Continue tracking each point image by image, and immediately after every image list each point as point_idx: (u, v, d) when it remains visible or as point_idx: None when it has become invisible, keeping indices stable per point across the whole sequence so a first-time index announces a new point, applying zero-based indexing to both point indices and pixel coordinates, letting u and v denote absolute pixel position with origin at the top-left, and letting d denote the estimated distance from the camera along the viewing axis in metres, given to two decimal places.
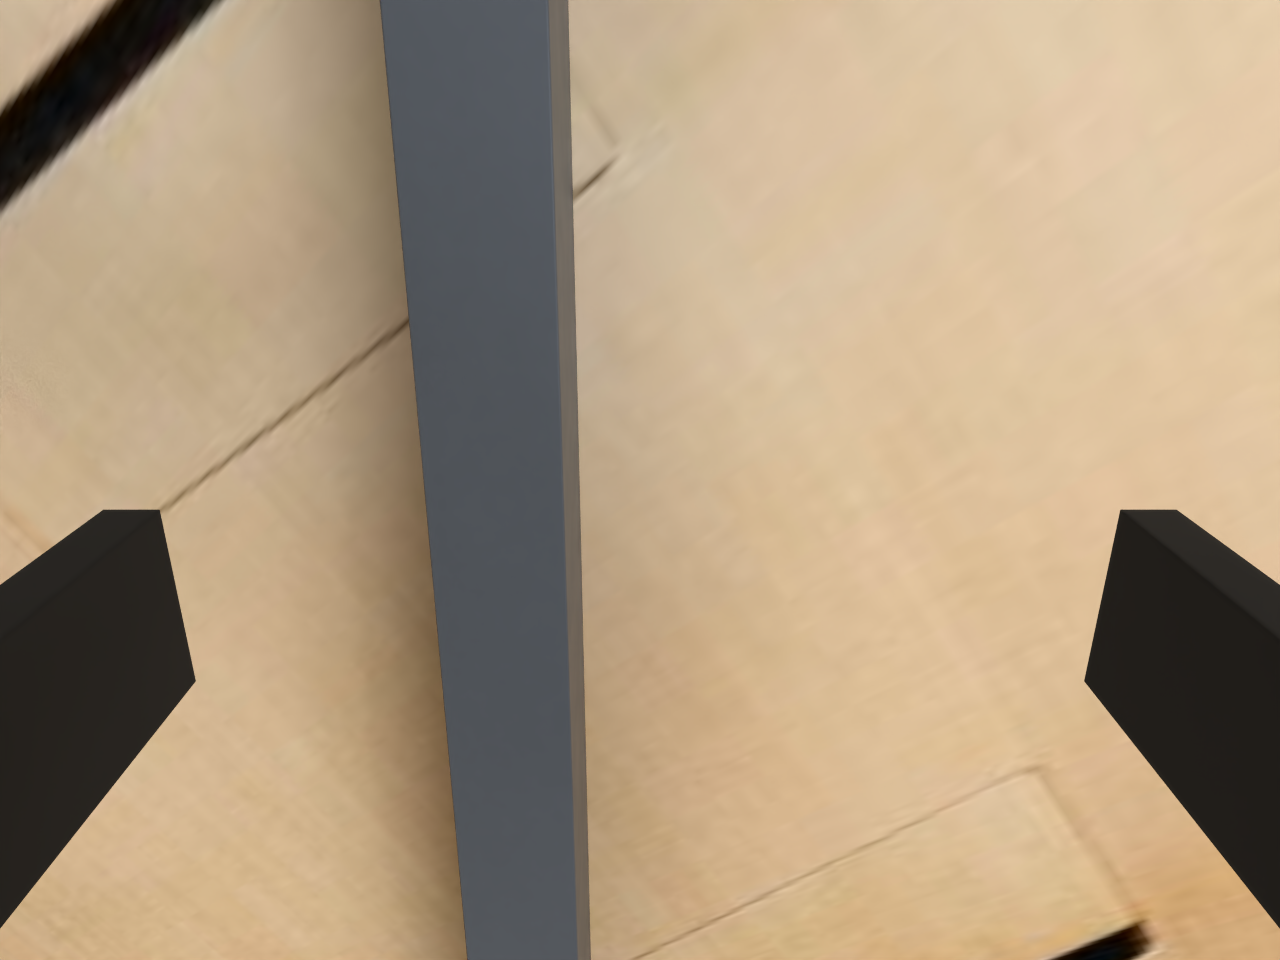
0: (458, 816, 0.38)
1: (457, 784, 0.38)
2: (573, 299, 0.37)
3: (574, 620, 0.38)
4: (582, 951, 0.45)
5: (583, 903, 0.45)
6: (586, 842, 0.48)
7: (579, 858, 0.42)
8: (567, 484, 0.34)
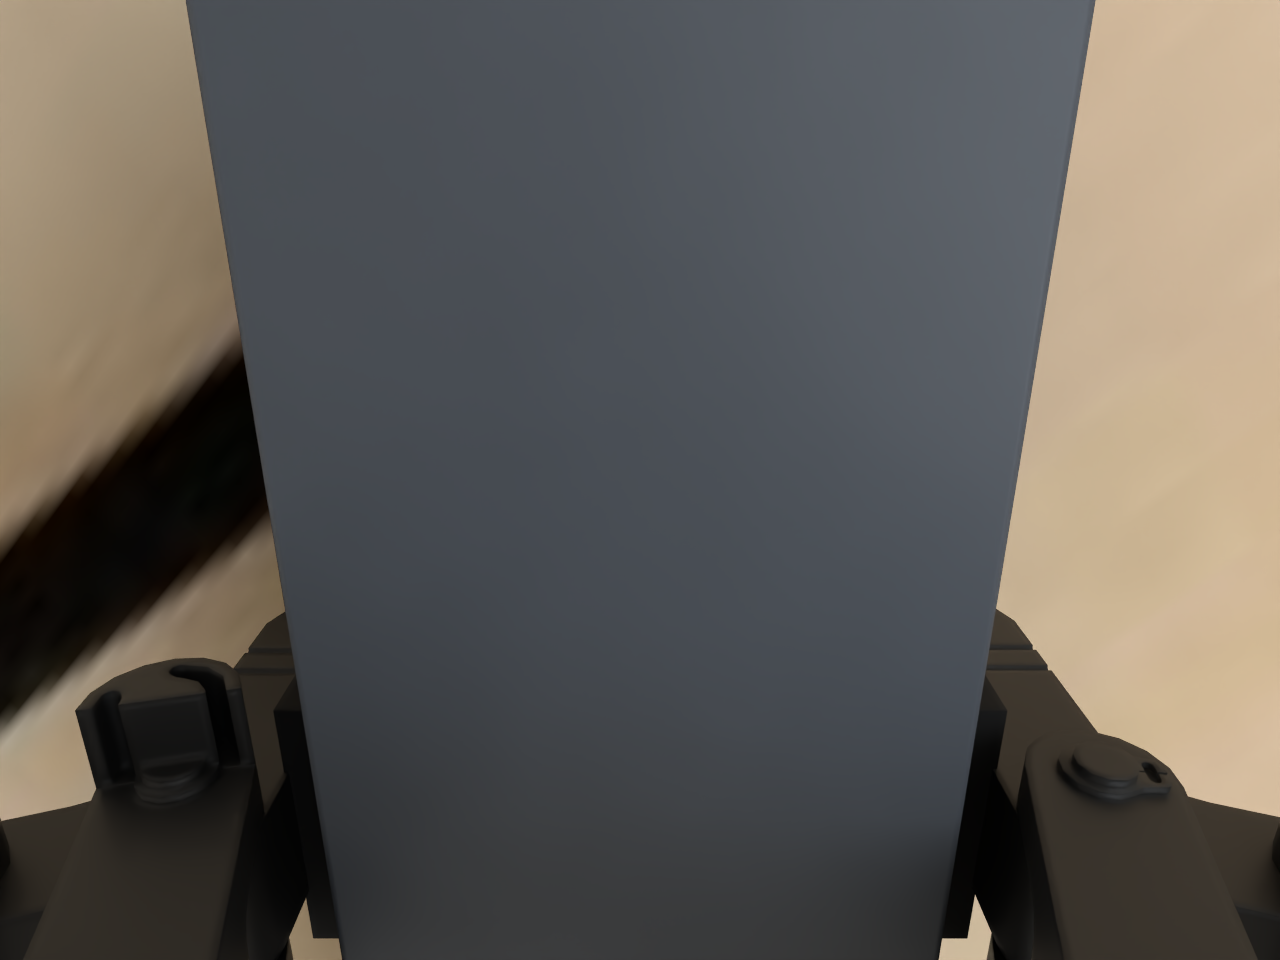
0: None
1: None
2: None
3: None
4: None
5: None
6: None
7: None
8: None
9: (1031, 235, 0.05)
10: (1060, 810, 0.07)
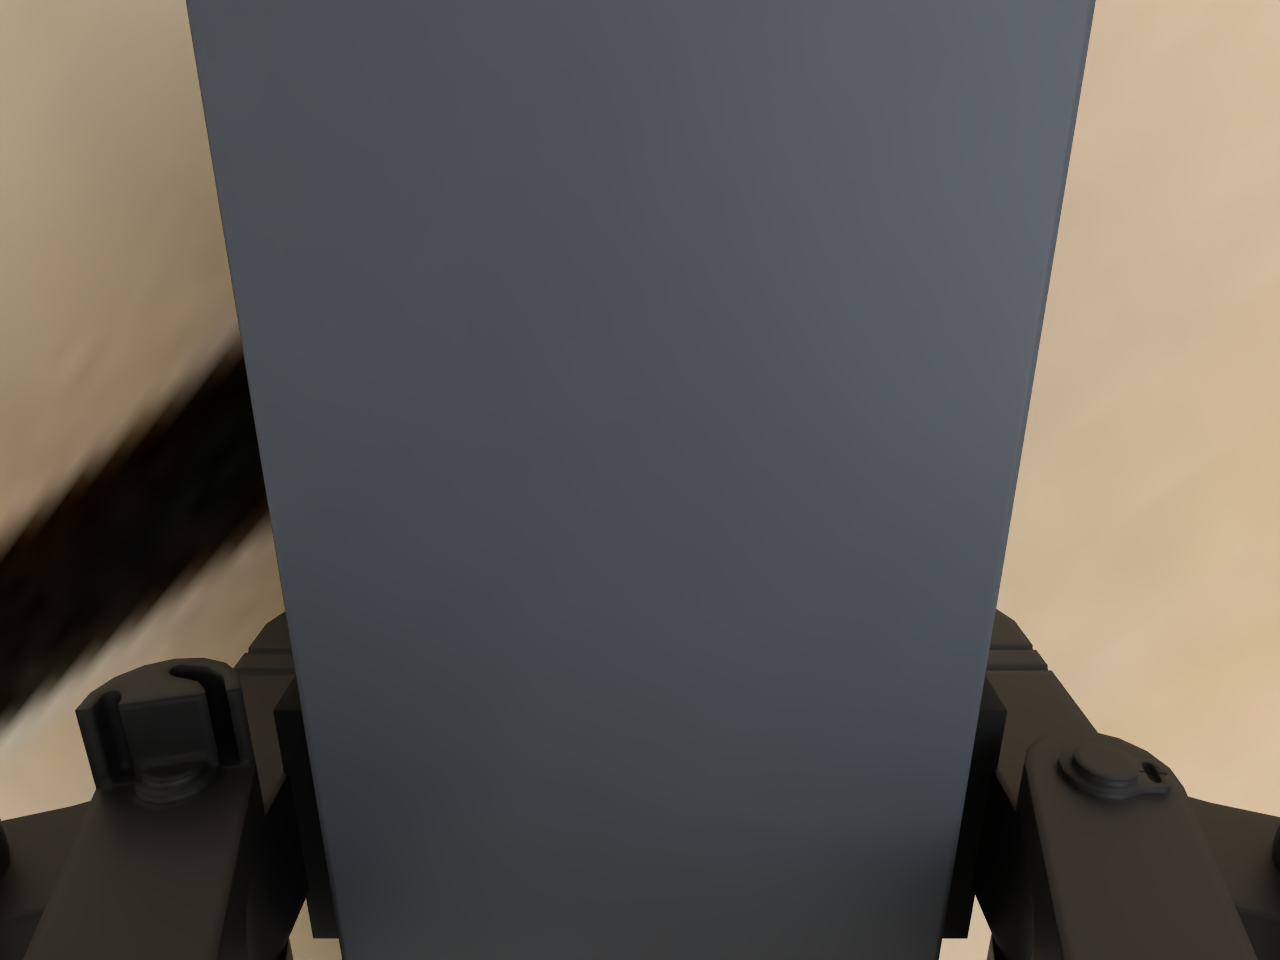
0: None
1: None
2: None
3: None
4: None
5: None
6: None
7: None
8: None
9: (1031, 235, 0.05)
10: (1060, 810, 0.07)
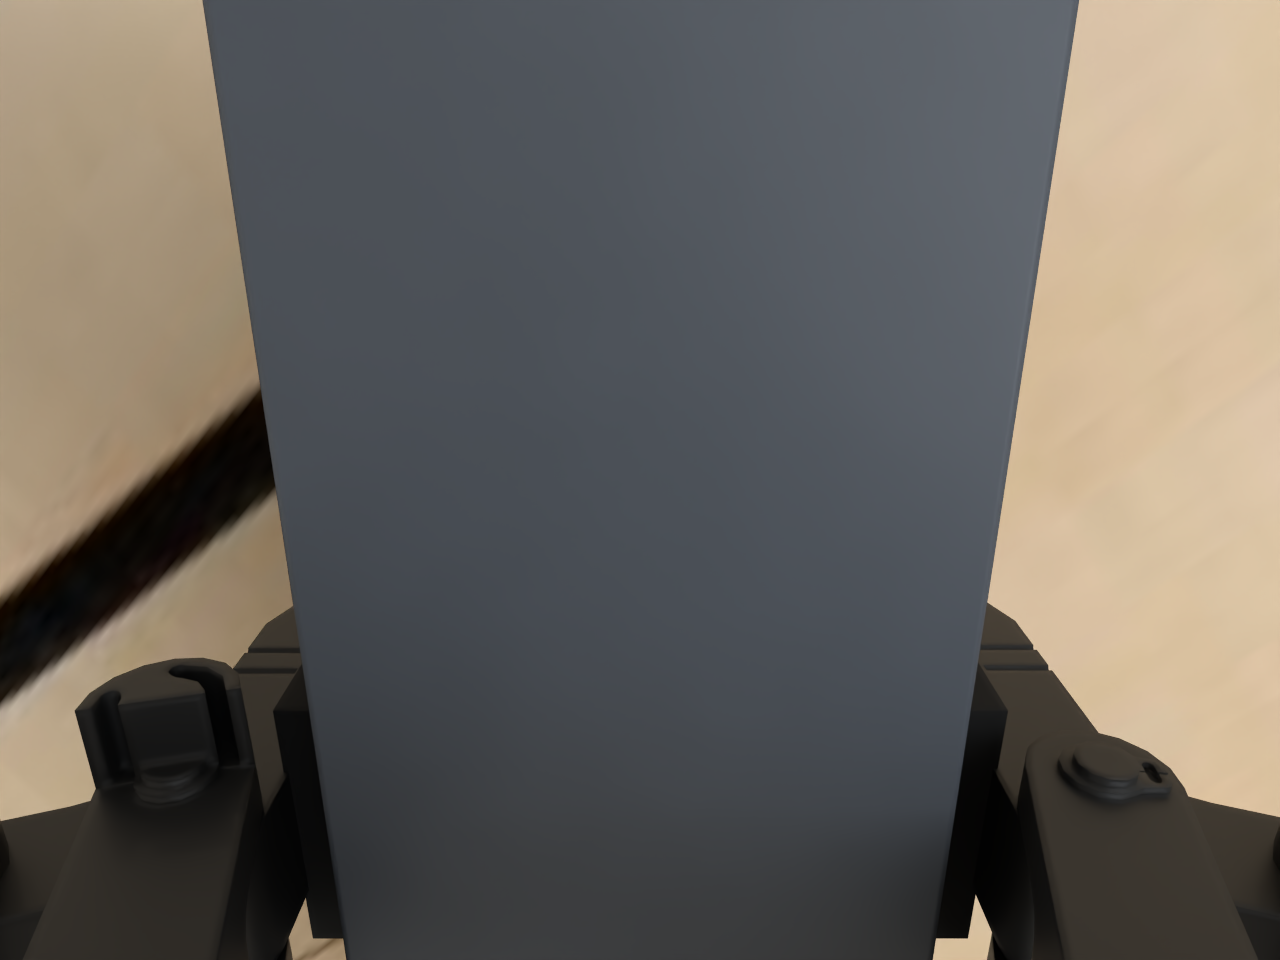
0: None
1: None
2: None
3: None
4: None
5: None
6: None
7: None
8: None
9: (1018, 227, 0.06)
10: (1060, 811, 0.07)
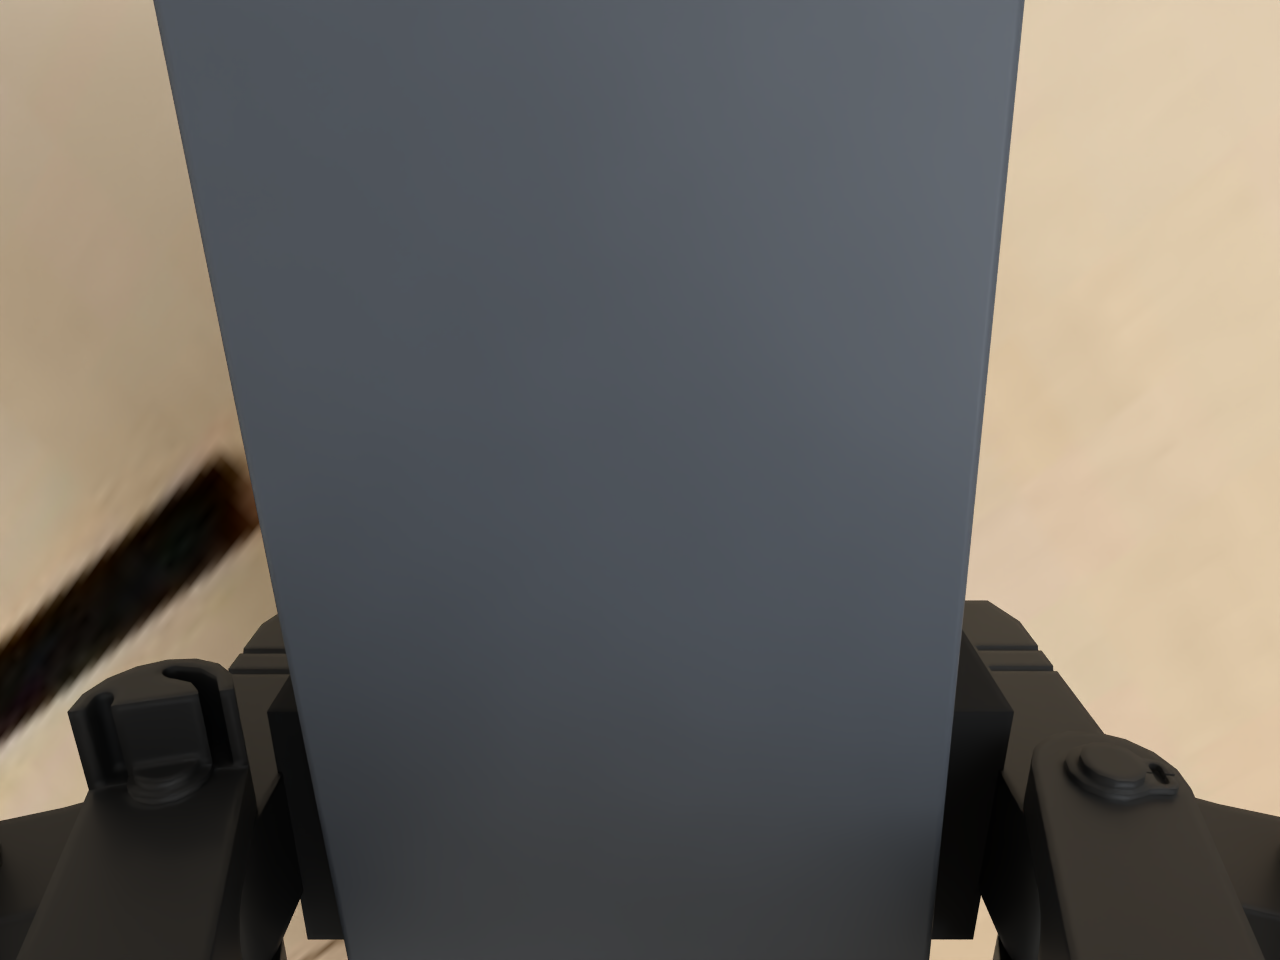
0: None
1: None
2: None
3: None
4: None
5: None
6: None
7: None
8: None
9: (977, 230, 0.06)
10: (1065, 811, 0.07)
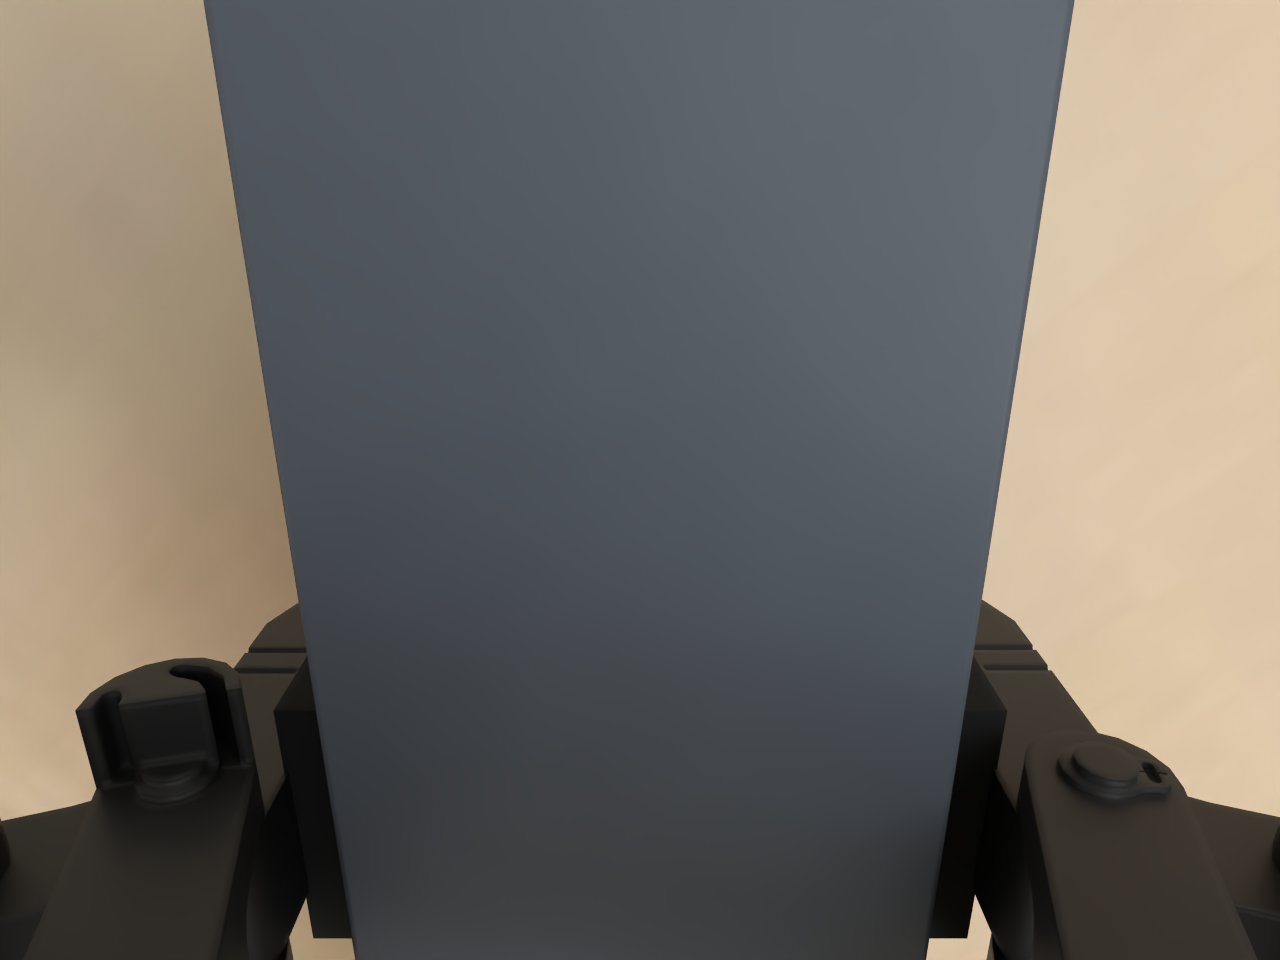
0: None
1: None
2: None
3: None
4: None
5: None
6: None
7: None
8: None
9: (1012, 250, 0.06)
10: (1060, 811, 0.07)
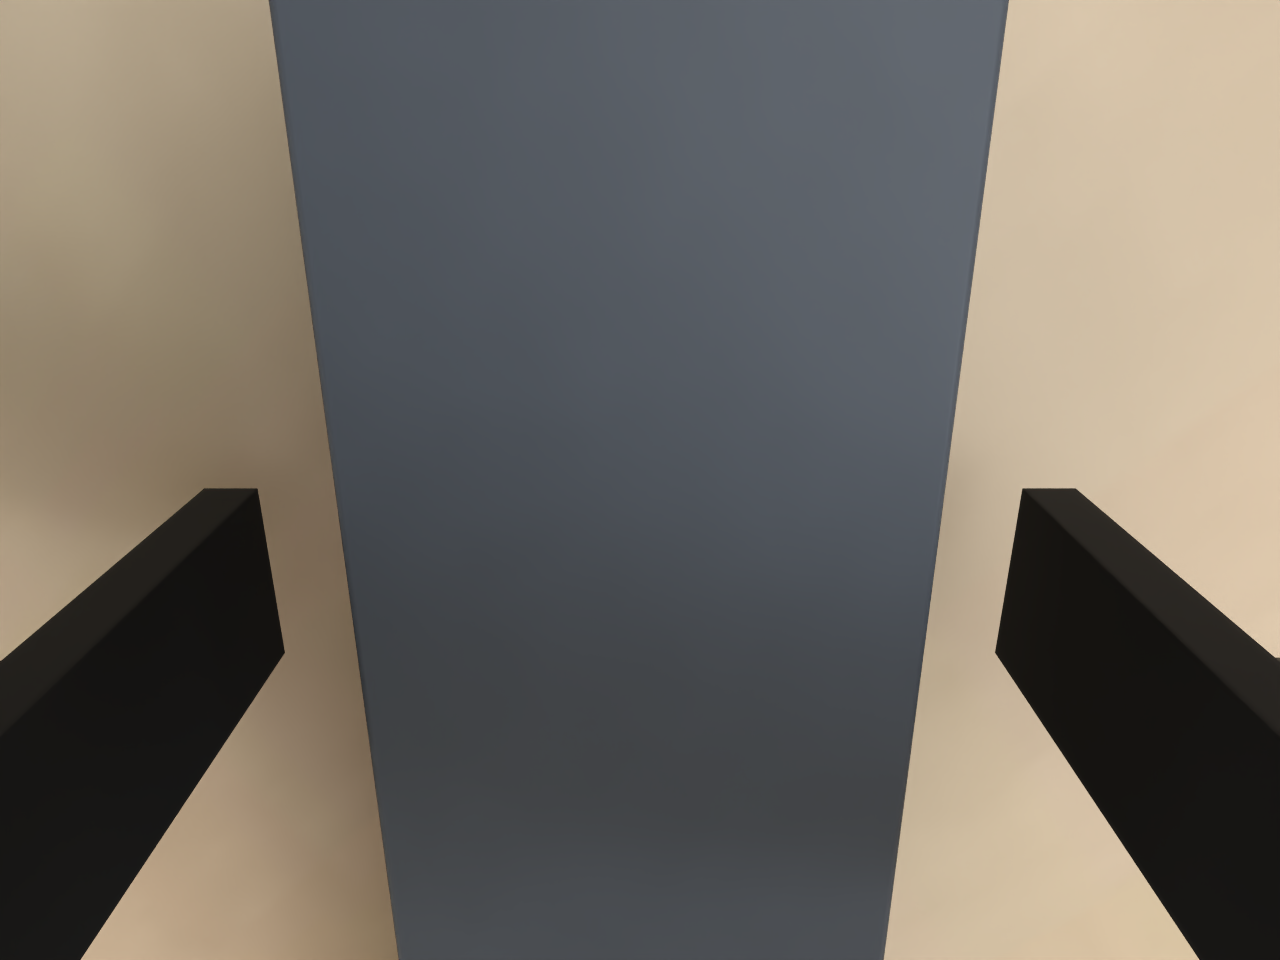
0: None
1: None
2: None
3: None
4: None
5: None
6: None
7: None
8: None
9: (954, 261, 0.07)
10: None
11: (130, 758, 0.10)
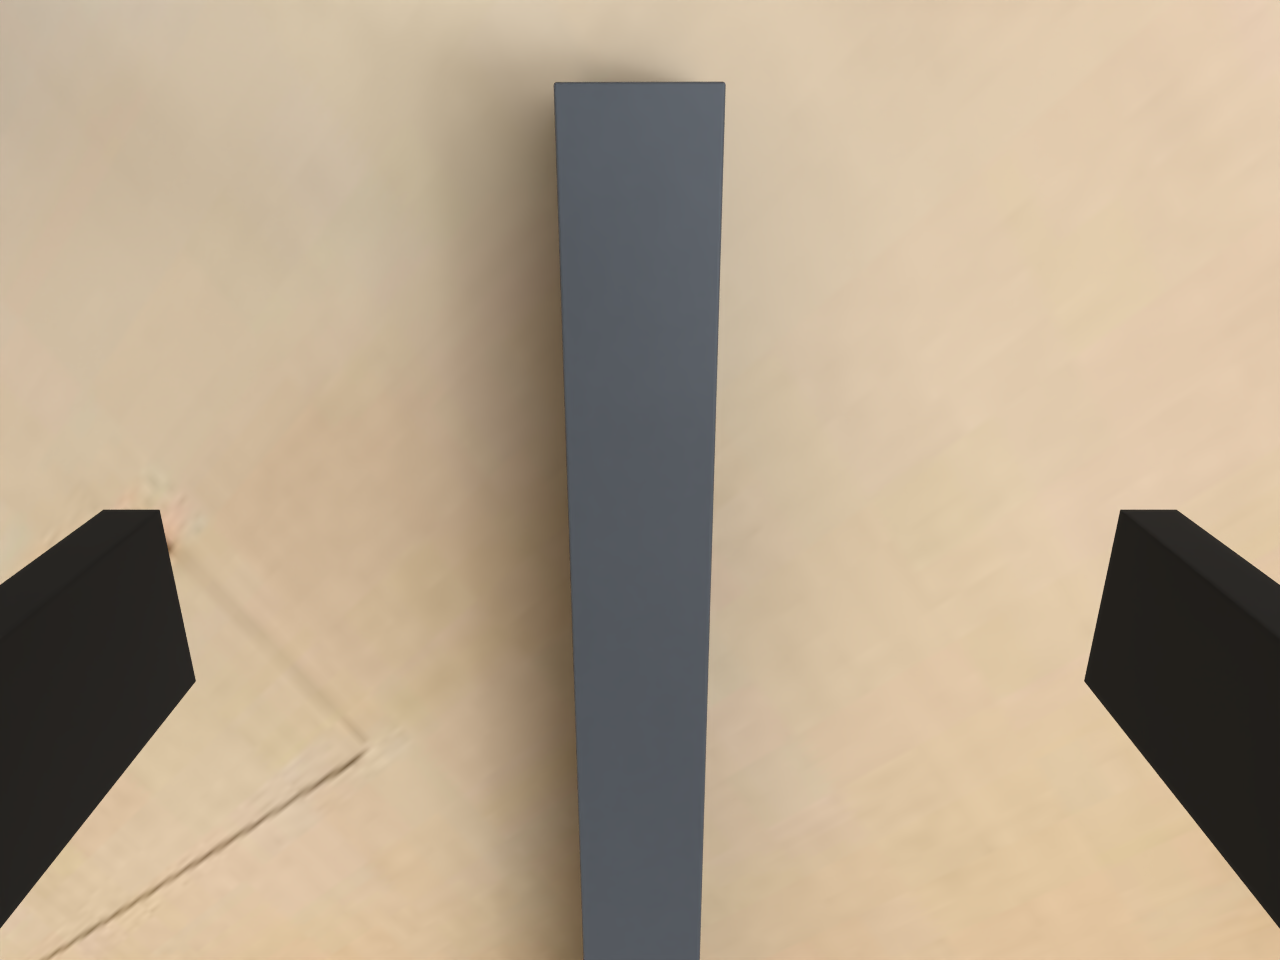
0: None
1: None
2: None
3: None
4: None
5: None
6: None
7: None
8: None
9: (717, 154, 0.27)
10: None
11: None
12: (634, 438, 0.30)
